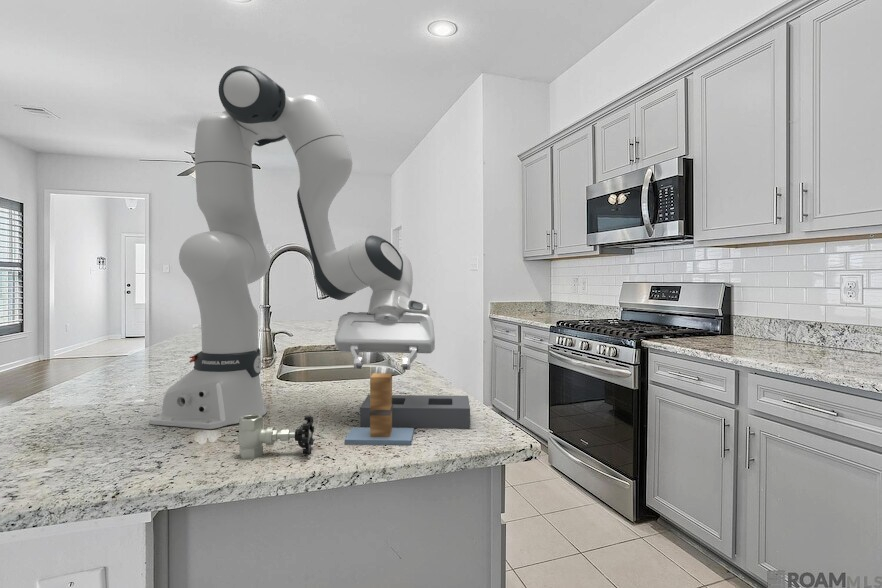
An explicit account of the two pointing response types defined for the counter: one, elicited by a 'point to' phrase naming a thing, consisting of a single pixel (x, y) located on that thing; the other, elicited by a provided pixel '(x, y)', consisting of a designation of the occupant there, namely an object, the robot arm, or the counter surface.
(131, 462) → the counter surface
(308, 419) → the valve
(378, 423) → the plug
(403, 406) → the holder
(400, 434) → the pad
